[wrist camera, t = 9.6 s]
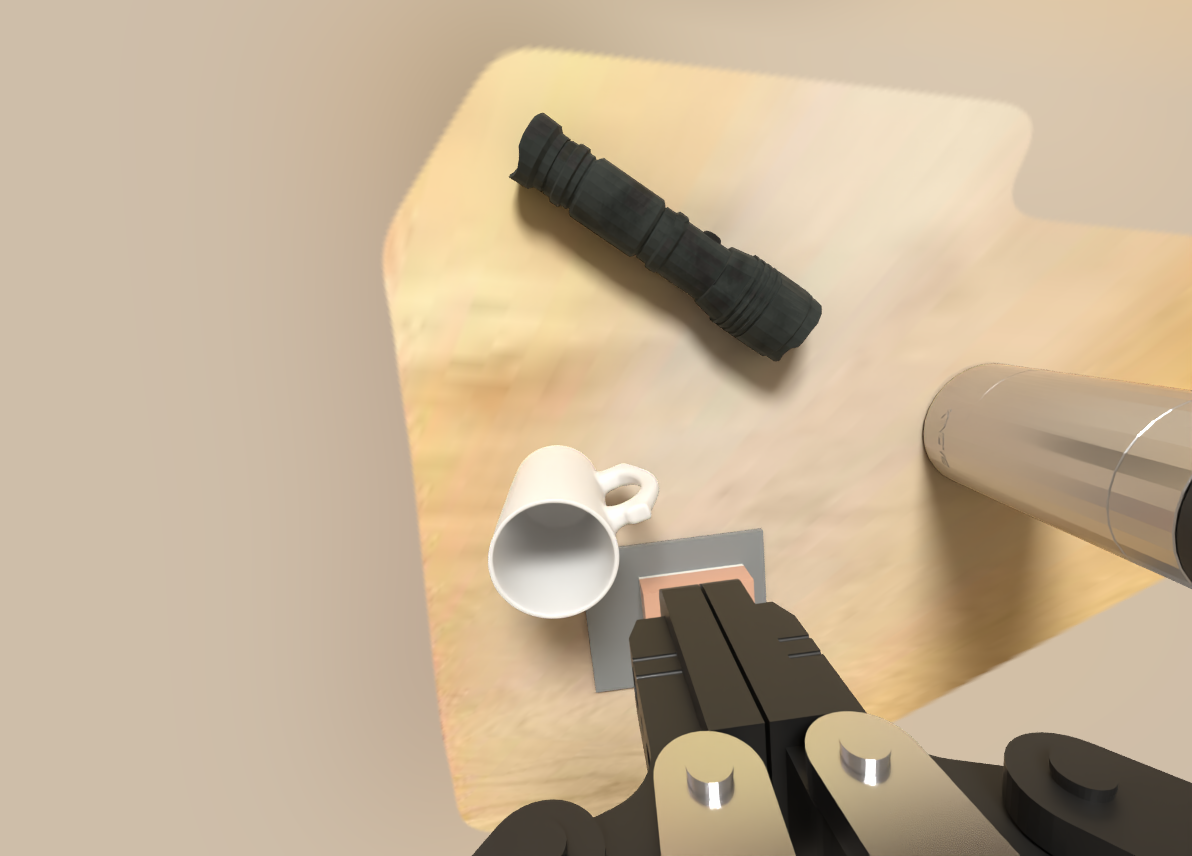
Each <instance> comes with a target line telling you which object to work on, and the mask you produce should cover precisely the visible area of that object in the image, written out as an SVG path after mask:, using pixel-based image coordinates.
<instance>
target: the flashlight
mask: <svg viewBox="0 0 1192 856" xmlns="http://www.w3.org/2000/svg"><path fill="white" fill-rule="evenodd" d="M570 140H571V139H569V138H568V137H567V136H565V135H564V134H563V132H562V126H560V125H559V124H558V123H556V122H555V121H554V120H552V119H551V118H550V117H548V116H547V115H546V114H544V113H540V114H538V115H536V116H535V117H534V118H533V119H532V121H531V122H530V124H529V125H528V127H527V128H526V130H525V132H524V133H523V135H522V138H521V141H520V144H519V162H518V168H517V169H516V170H515V172H514V173H512V174H510V176H509V178H511V179H513V180H514V181H516V182H517V183H519V184H521V185H522V186H524V187H525V188H527V189H529V188H532V187H535V188H536V189H538V190H539V191H540V192H542V191H543V194H545V195H546V196H548V197H549V199H550V202H551V203H553V204H554V205H556V206H557V207H559V206H560V205H561V206H563V207H564V208H569V214H570V216H571V217H572V218H574V219H575V220H577V221H578V222H580V223H581V224H582V225H584V226H585V227H587V228H588V229H590V230H591V231H593V232H594V233H596V234H597V235H599V236H600V237H602V238H603V239H604V240H606V241H607V242H609V243H610V244H612V245H613V246H615V247H616V248H618V249H619V250H621V251H622V252H623V253H625V254H626V255H628V256H634V255H635V254H636V257H637V258H639V259H640V260H641V261H643V262H644V263H645V267H646V268H647V269H649V270H650V271H652V272H657V273H658V274H660V275H661V276H663V277H664V278H666V279H667V280H669V281H670V282H671V283H673V284H674V285H676V286H677V287H679V288H680V289H682V290H683V291H685V292H686V293H688V294H689V295H690V296H692V297H693V298H695V302H696V303H697V304H698V305H699V306H700V307H701V308H702V309H703V310H704V311H705V312H706V313H707V314H708V315H709V316H710V320H711V321H712V322H714V323H716V324H717V325H718V326H719V327H722V329H724V330H725V331H726V332H728V333H729V334H731V335H732V336H734V337H735V338H737V339H738V340H740V341H741V342H743V343H744V344H746V345H747V346H749V347H750V348H752V349H753V350H755V351H756V352H758V353H759V354H761V355H762V356H767V357H769V358H770V359H772V360H773V361H779V360H780V359H781V357H782V356H783V354H785V353H786V352H787V351H788V350H790V349H791V348H796V347H799V346H800V345H801V344H802V343H803V341H804V340H805V339H806V338H807V336H808V335H809V334H810V332H811V331H812V330H813V329H814V327H815V326H816V325H817V324H818V321H819V319H820V317H821V314H822V308H821V305H820V304H819V303H818V302H817V301H816V300H815V299H813V297H812V296H811V295H810V294H809V293H808V292H807V291H806V290H804V289H803V288H802V287H800V286H799V285H797V284H796V283H795V282H793V281H792V280H790V279H789V278H787V277H786V276H785V275H783V274H782V273H780V272H778V271H777V270H776V269H775V268H772V266H771V265H769V264H766V262H765V261H763V260H762V259H761V260H760V259H759V257H757V256H756V255H754V256H751V255H749V254H746V253H744V252H742V251H740V250H737V249H735V248H733V247H731V248H729V249H727V248H725V247H724V246H723V245H721V240H720V238H719V237H718V236H717V235H715V234H714V233H712V232H709V231H704V232H703V231H701V230H700V229H698V228H697V227H695V226H694V225H693V224H691V223H690V222H689V219H688V217H687V216H685V215H684V214H683V213H681V212H679V213H675V212H674V211H672V210H671V209H670V208H668V207H667V208H665V202H664V200H663V199H662V198H660V197H659V196H657V195H656V194H655V193H653V192H652V191H650V190H649V189H647V188H646V187H645V186H643V185H642V184H640V183H639V182H637V181H636V180H635V179H633V178H632V177H630V176H629V175H627V174H626V173H625V172H623V171H622V170H620V169H619V168H617V167H616V166H615V165H613V164H612V163H610V162H609V161H607V160H606V159H605V158H603V159H599V160H596V157H595V156H594V155H592V154H591V149H589V148H588V147H586V146H585V145H583V144H580V145H578V144H577V143H575V142H574V141H570Z"/></svg>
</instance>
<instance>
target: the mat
mask: <svg viewBox="0 0 1192 856" xmlns="http://www.w3.org/2000/svg"><path fill="white" fill-rule="evenodd" d="M618 548H619V566H618V571H617V575H616V578H615V580H614V582H613V584H612V586H611V588H610V589H609V591H608V592H607V593H606V595H605V596H604V597H603V598H602V599H601V600H600V601H599V602H598V603H596V604H595V605H594V606H592V607H591V608H589V609H588V610H586V617H587V625H588V632H589V640H590V648H591V656H592V663H593V671H594V679H595V686H596V693H597V692H604V691H611V690H619V689H626V688H633V687H634V681H633V672H632V663H631V654H630V645H629V637H630V634H631V632H632V630H633V627H634V625H635V623H636V620H640V619H643V614H642V604H641V594H640V585H639V577H645V576H653V575H660V574H668V573H676V572H683V571H691V570H698V569H706V568H714V567H721V566H729V565H737V564H743V565H744V567H745V568H746V569H747V571H748V572H749V574H750V575H751V577H752V578H753V580H754V598H755V604H759V603H766V586H765V564H764V542H763V530H762V529H753V530H745V531H738V532H730V533H722V534H714V535H707V536H699V537H691V538H683V539H676V540H668V541H660V542H652V543H645V544H637V545H629V546H621V547H618Z"/></svg>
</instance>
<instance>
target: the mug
mask: <svg viewBox="0 0 1192 856" xmlns="http://www.w3.org/2000/svg"><path fill="white" fill-rule="evenodd" d="M626 485H638V486H640V487H641V489H640V491H639V492H638V493H637V494H636V495H635V496H634V497H632V498H631V499H629V500H628V501H626V502H624V503H621V504H619V505H615V506H606V502H605V495H606V494H607V493H608V492H610V491H612V490H614V489H616V488H619V487H621V486H626ZM658 493H659V484H658V481H657V479H656V478H655V476H654V475H653V474H652V473H650V472H649V471H647V470H645V469H642V468H639V467H636V466H633V465H629V464H627V463H621V464H618V465H616V466H614V467H612V468H609V469H606V470H603V471H596V469H595V467H594V465H593V463H592V462H591V461H590V460H589V459H588V458H587V457H586V456H585V455H584V454H583V453H581V452H580V451H578V450H576V449H574V448H571V447H567V446H561V445H553V446H547V447H543V448H540V449H538V450H536V451H534V452H533V453H531V454H530V455H529V456H527V457H526V458H525V459H524V461H523V462H522V463H521V465H520V466H519V468H518V470H517V472H516V475H515V477H514V480H513V482H512V484H511V487H510V490H509V493H508V496H507V498H506V501H505V504H504V507H503V509H502V512H501V515H500V517H499V520H498V523H497V526H496V529H495V532H494V536H493V538H492V541H491V544H490V548H489V554H488V567H489V573H490V577H491V580H492V582H493V584H494V586H495V588H496V590H497V591H498V593H499V594H500V595H501V596H502V597H503V598H504V599H505V600H506V601H507V602H508V603H509V604H510V605H512V606H513V607H514V608H516V609H518V610H520V611H521V612H524V613H526V614H529V615H531V616H535V617H540V618H548V619H557V618H565V617H570V616H574V615H577V614H579V613H582V612H584V611H586V610H588V609H589V608H591V607H592V606H594V605H595V604H596V603H598V602H599V601H600V600H601V599H602V598H603V597H604V596H605V595H606V593H607V592H608V591H609V589H610V588H611V586H612V584H613V582H614V580H615V578H616V575H617V571H618V566H619V548H618V543H617V540H616V533H617V531H618V530H619V529H620V528H621V527H623V526H625V525H627V524H636V523H640V522H642V521H645V520H648V519H650V518H651V510H652V508H653V506H654V504H655V502H656V500H657V497H658Z"/></svg>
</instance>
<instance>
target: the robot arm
mask: <svg viewBox="0 0 1192 856" xmlns="http://www.w3.org/2000/svg"><path fill="white" fill-rule="evenodd" d="M924 444H925V448H926V451H927V455H928V457H929V459H930V460H931V462H932V464H933V465H934V467H935V468H936V469H937V470H938V471H939V472H940V473H941V474H942V475H944V476H946V477H947V478H949V479H951V480H953V481H955V482H957V483H959V484H961V485H964V486H966V487H968V488H970V489H972V490H975V491H977V492H979V493H981V494H983V495H986V496H988V497H990V498H992V499H994V500H996V501H998V502H1000V503H1003V504H1005V505H1007V506H1009V507H1011V508H1014V509H1016V510H1018V511H1020V512H1022V513H1025V514H1027V515H1029V516H1031V517H1033V518H1036V519H1038V520H1040V521H1042V522H1045V523H1047V524H1049V525H1051V526H1053V527H1056V528H1058V529H1060V530H1062V531H1064V532H1067V533H1069V534H1071V535H1073V536H1075V537H1078V538H1080V539H1082V540H1084V541H1086V542H1089V543H1091V544H1093V545H1095V546H1097V547H1100V548H1102V549H1104V550H1106V551H1108V552H1111V553H1113V554H1115V555H1117V556H1120V557H1122V558H1124V559H1126V560H1128V561H1131V562H1133V563H1135V564H1137V565H1139V566H1142V567H1144V568H1146V569H1149V570H1151V571H1153V572H1155V573H1158V574H1160V575H1162V576H1164V577H1166V578H1169V579H1171V580H1173V581H1175V582H1178V583H1180V584H1182V585H1184V586H1186V587H1188V588H1191V589H1192V390H1185V389H1178V388H1171V387H1164V386H1156V385H1149V384H1142V383H1135V382H1127V381H1120V380H1113V379H1106V378H1099V377H1091V376H1084V375H1077V374H1070V373H1062V372H1055V371H1049V370H1043V369H1035V368H1028V367H1020V366H1013V365H1005V364H996V363H993V364H984V365H979V366H976V367H973V368H970V369H967V370H966V371H964V372H962V373H960V374H958V375H957V376H955V377H954V378H953V379H952V380H950V381H949V382H948V383H947V384H946V385H945V386H944V387H943V388H942V389H941V391H940V392H939V393H938V394H937V395H936V397H935V399H934V400H933V402H932V404H931V406H930V408H929V411H928V413H927V416H926V419H925V426H924ZM659 602H660V613H661V617H655V618H647V619H640V620H636V623H635V625H634V627H633V630H632V632H631V634H630V637H629V645H630V654H631V663H632V672H633V681H634V690H635V699H636V708H637V714H638V720H639V726H640V731H641V736H642V742H643V748H644V753H645V759H646V765H647V770H648V773H647V775H646V777H645V779H644V781H643V783H642V784H641V786H640V787H639V788H638V790H637V791H636V792H635V793H634V794H633V795H632V796H631V797H629V798H628V799H627V800H626V801H624V802H623V803H621V804H620V805H618V806H616V807H614V808H613V809H611V810H608V811H606V812H604V813H602V814H600V815H598V816H596V817H594V818H593V817H592V815H591V814H590V813H589V812H588V811H586V810H585V809H583V808H582V807H580V806H578V805H576V804H574V803H571V802H568V801H563V800H542V801H538V802H534V803H531V804H529V805H526V806H524V807H522V808H520V809H518V810H517V811H515V812H513V813H512V814H511V815H509V816H508V817H507V818H505V819H504V820H503V821H502V822H501V823H500V824H499V825H498V826H497V827H496V828H495V830H494V831H493V832H492V833H491V834H490V835H489V837H488V838H487V839H486V840H485V841H484V842H483V844H482V845H481V846H480V847H479V848H478V849H477V850H476V852H475V853H474V854H473V855H472V856H1192V783H1190V782H1188V781H1185V780H1183V779H1180V778H1178V777H1175V776H1173V775H1170V774H1168V773H1165V772H1162V771H1160V770H1157V769H1155V768H1152V767H1150V766H1147V765H1145V764H1142V763H1140V762H1137V761H1135V760H1132V759H1130V758H1127V757H1125V756H1122V755H1120V754H1117V753H1115V752H1112V751H1109V750H1107V749H1105V748H1102V747H1099V746H1097V745H1095V744H1092V743H1089V742H1086V741H1083V740H1081V739H1077V738H1074V737H1070V736H1066V735H1060V734H1055V733H1043V732H1041V733H1029V734H1024V735H1021V736H1019V737H1016V738H1014V739H1013V740H1012V741H1010V742H1009V744H1008V745H1007V747H1006V750H1005V753H1004V766H999V765H991V764H983V763H975V762H968V761H960V760H952V759H946V758H940V757H936V756H932V755H928V754H927V753H926V752H925V750H924V749H923V748H922V747H921V746H920V745H919V744H918V743H917V742H916V741H915V740H914V739H913V738H912V737H911V736H910V735H909V734H908V733H906V732H905V731H904V730H902V729H901V728H900V727H898V726H896V725H894V724H893V723H891V722H889V721H887V720H884V719H882V718H880V717H877V716H874V715H870V714H867V713H866V712H865V710H864V709H863V708H862V706H861V705H860V703H859V702H858V701H857V699H856V698H855V697H854V695H853V694H852V693H851V691H850V690H849V689H848V687H847V686H846V685H845V683H844V682H843V680H842V679H841V678H840V676H839V675H838V674H837V672H836V671H835V670H834V668H833V667H832V666H831V664H830V663H829V661H828V660H827V659H826V657H825V656H824V655H823V654H822V655H821V652H820V649H819V648H818V647H817V645H816V644H815V643H814V641H813V640H812V638H809V634H808V633H807V632H806V630H805V629H804V628H803V626H802V625H801V624H800V622H799V621H798V619H797V618H796V617H795V616H794V615H793V614H791V613H789V612H788V611H786V610H785V609H783V608H781V607H780V606H778V605H777V604H775V603H773V602H766V603H759V604H755V603H754V601H753V600H752V598H751V596H750V595H749V593H748V592H747V590H746V589H745V587H744V585H743V584H742V582H741V581H740V580H739V579H731V580H723V581H716V582H708V583H701V584H699V585H698V584H694V585H686V586H679V587H671V588H664V589H659Z"/></svg>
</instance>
